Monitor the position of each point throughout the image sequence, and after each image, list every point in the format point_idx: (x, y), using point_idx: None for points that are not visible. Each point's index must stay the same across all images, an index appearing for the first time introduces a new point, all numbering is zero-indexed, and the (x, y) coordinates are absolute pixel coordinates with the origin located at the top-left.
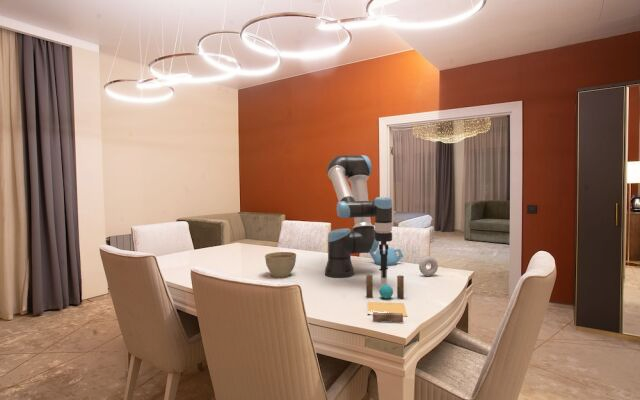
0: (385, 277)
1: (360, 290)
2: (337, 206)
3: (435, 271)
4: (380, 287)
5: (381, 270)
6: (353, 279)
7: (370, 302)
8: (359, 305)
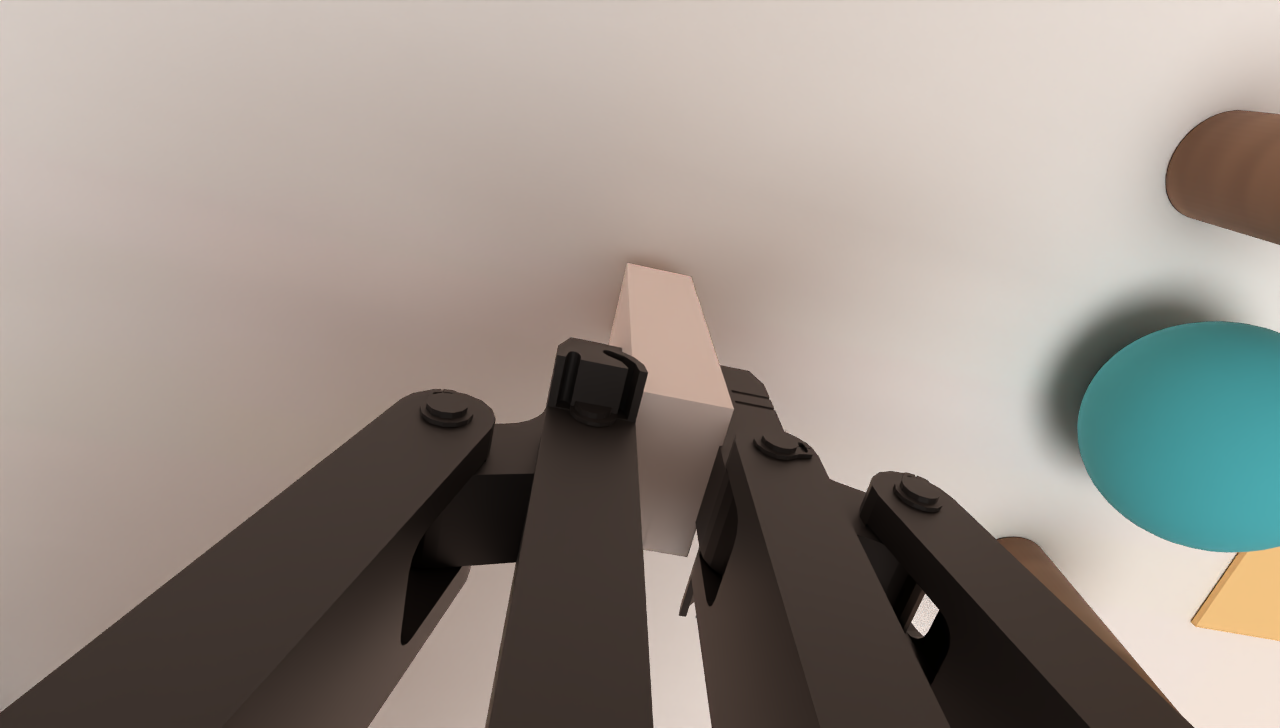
0: (754, 378)
1: (689, 623)
2: None
3: None
4: (1203, 549)
5: (688, 535)
6: (91, 631)
7: (1228, 603)
8: (1240, 705)
